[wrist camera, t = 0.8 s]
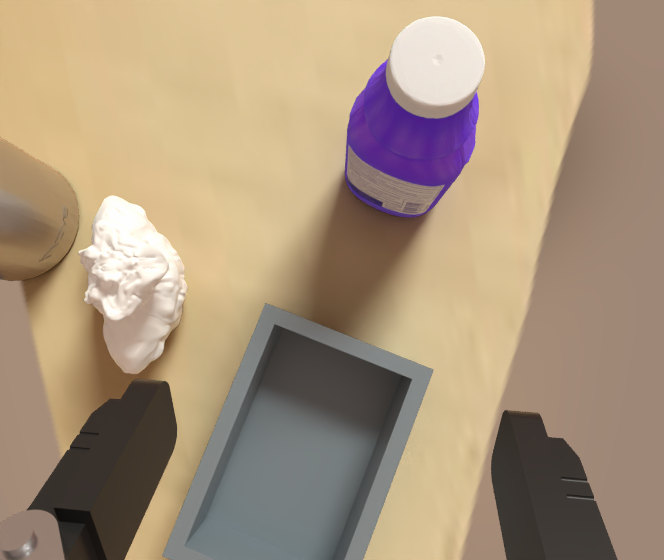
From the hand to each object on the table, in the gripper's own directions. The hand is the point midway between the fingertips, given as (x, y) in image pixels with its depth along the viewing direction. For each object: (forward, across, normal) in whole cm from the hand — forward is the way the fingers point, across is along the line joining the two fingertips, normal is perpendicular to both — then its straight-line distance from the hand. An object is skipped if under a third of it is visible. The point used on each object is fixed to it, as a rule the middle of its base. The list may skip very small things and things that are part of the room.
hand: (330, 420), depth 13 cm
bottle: (+29, -2, +5) cm, 29 cm away
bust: (+23, +15, +11) cm, 30 cm away
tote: (+17, +3, +20) cm, 26 cm away
